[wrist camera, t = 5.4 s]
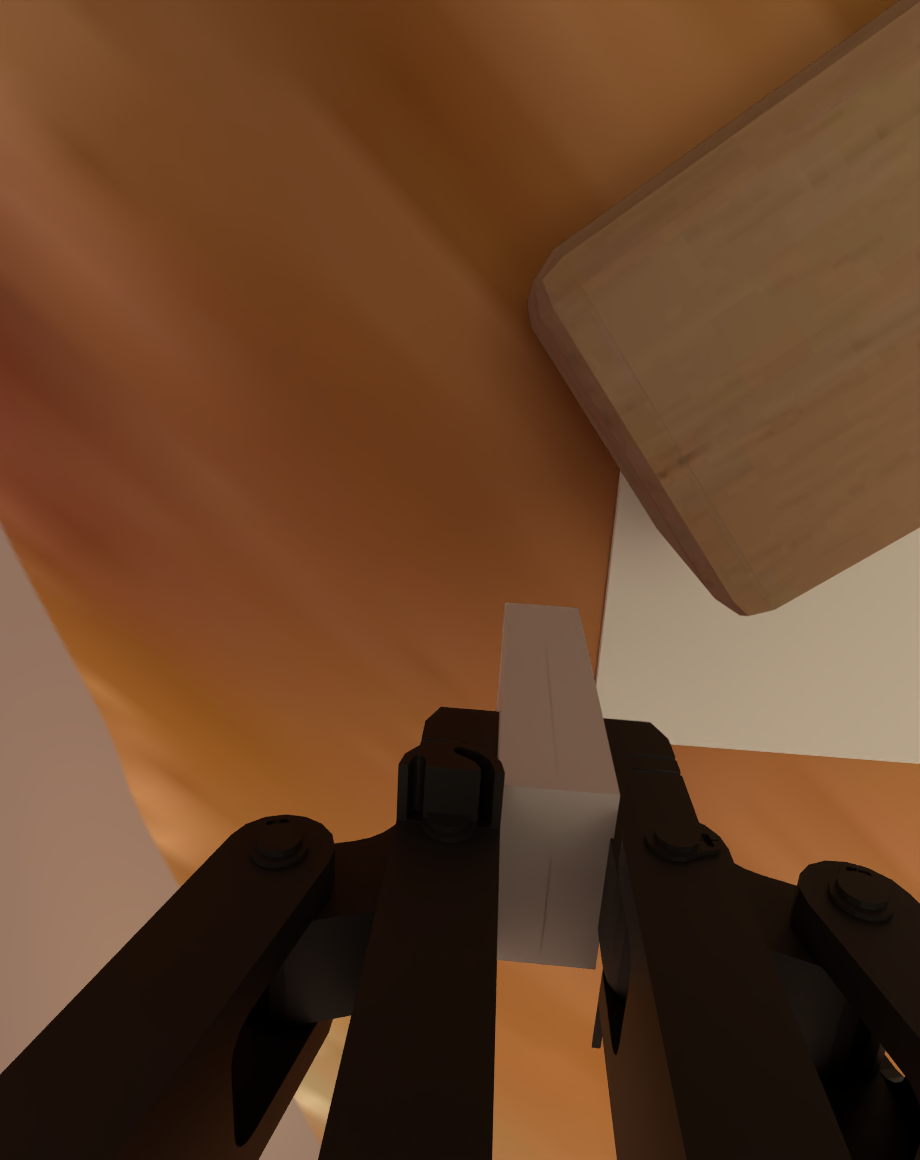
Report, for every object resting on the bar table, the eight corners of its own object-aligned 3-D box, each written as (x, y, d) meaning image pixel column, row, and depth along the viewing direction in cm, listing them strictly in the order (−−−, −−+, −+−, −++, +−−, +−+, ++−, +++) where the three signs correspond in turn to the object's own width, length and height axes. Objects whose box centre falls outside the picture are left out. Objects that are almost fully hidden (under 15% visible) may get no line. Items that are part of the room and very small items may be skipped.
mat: (645, 252, 26) (647, 250, 25) (1279, 282, 25) (1291, 282, 24) (589, 732, 32) (590, 737, 31) (1101, 772, 31) (1108, 778, 30)
